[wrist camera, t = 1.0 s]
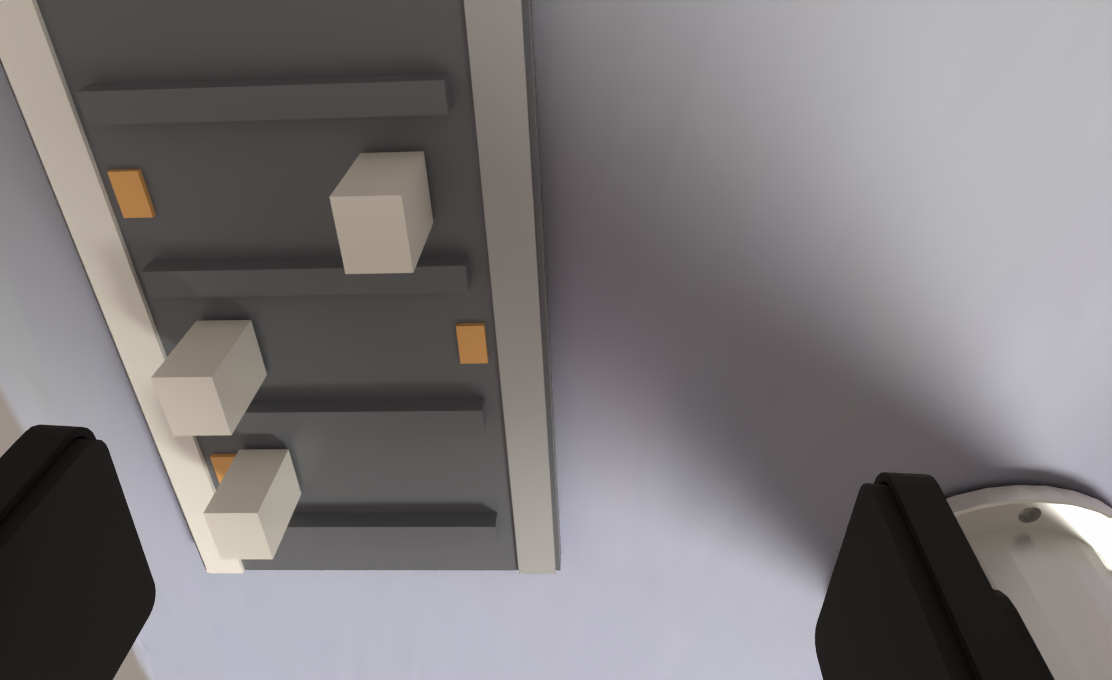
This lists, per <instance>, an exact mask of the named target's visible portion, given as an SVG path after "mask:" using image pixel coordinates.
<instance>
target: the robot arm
mask: <svg viewBox="0 0 1112 680" xmlns="http://www.w3.org/2000/svg"><path fill="white" fill-rule="evenodd" d="M154 601H155V584H154V581H153V578H152V575H151V572H150V569H149V566H148V563H147V560H146V557H145V554H144V552H143V549H142V546H141V543H140V540H139V537H138V534H137V531H136V528H135V525H134V522H133V520H132V517H131V514H130V511H129V508H128V505H127V502H126V499H125V496H124V493H123V491H122V488H121V485H120V482H119V479H118V476H117V473H116V470H115V467H114V464H113V461H112V459H111V456H110V453H109V450H108V448H107V446H106V444H105V443H104V442H103V441H102V440H97V439H96V438H95V436H94V434H93V432H92V431H90V430H89V429H88V428H84V427H72V426H54V425H36V426H33V427H31V428H30V429H28V430H27V431H26V432H25V433H24V434H23V435H22V436H21V437H20V438H19V439H18V440H17V441H16V442H15V443H14V444H13V445H12V446H11V447H10V448H9V449H8V450H7V451H6V452H5V454H4V455H3V456H2V457H1V458H0V680H113V678H114V676H115V675H116V673H117V671H118V669H119V668H120V666H121V664H122V662H123V661H124V659H125V657H126V656H127V654H128V652H129V650H130V649H131V647H132V645H133V643H134V642H135V640H136V638H137V636H138V635H139V633H140V631H141V629H142V628H143V626H144V624H145V622H146V621H147V619H148V617H149V615H150V613H151V611H152V609H153V605H154ZM815 646H816V653H817V658H818V661H819V665H820V669H821V673H822V676H823V680H1112V508H1111V507H1109V506H1107V505H1106V504H1104V503H1103V502H1101V501H1100V500H1098V499H1095V498H1092V497H1090V496H1087V495H1084V494H1082V493H1079V492H1076V491H1072V490H1067V489H1061V488H1056V487H1051V486H1033V485H1012V486H1003V487H993V488H984V489H980V490H976V491H972V492H967V493H963V494H959V495H955V496H952V497H949V498H947V499H946V498H945V496H944V494H943V492H942V490H941V488H940V486H939V484H938V483H937V482H936V480H935V479H934V478H933V477H932V476H930V475H922V474H904V473H886V472H884V473H880V474H879V475H878V476H877V477H876V480H875V482H874V484H869V483H866V484H863V485H862V486H861V488H860V490H859V493H858V496H857V499H856V503H855V506H854V509H853V512H852V515H851V518H850V521H849V524H848V527H847V531H846V534H845V537H844V540H843V543H842V546H841V549H840V552H839V556H838V559H837V562H836V565H835V568H834V571H833V574H832V577H831V581H830V584H829V587H828V590H827V593H826V596H825V599H824V602H823V606H822V609H821V612H820V615H819V618H818V621H817V625H816V631H815Z"/></svg>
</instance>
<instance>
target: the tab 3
mask: <svg viewBox="0 0 1112 680" xmlns="http://www.w3.org/2000/svg"><path fill="white" fill-rule="evenodd" d="M330 202H331V207H332V212H333V217H334V221H335V226H336V231H337V236H338V241H339V246H340V250H341V255H342V260H343V265H344V270H345V274H378V273H413V272H414V270H415V267H416V265H417V262H418V260H419V257H420V255H421V252H422V250H423V247H424V245H425V242H426V240H427V237H428V235H429V232H430V230H431V227H432V225H433V215H432V208H431V201H430V193H429V186H428V178H427V171H426V163H425V156H424V151H416V152H379V153H360V154H359V156H358V157H357V159H356V160H355V161H354V163H353V164H352V166H351V167H350V168H349V170H348V171H347V173H346V174H345V176H344V177H343V178H342V180H341V181H340V183H339V184H338V185H337V187H336V188H335V190H334V191H333V193H332V194H331V195H330Z"/></svg>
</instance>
